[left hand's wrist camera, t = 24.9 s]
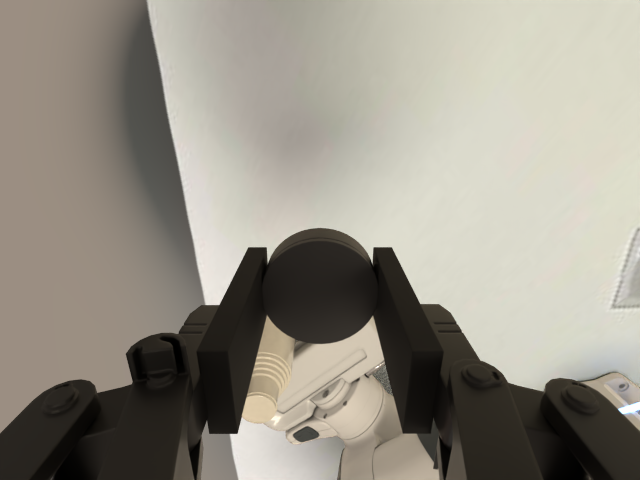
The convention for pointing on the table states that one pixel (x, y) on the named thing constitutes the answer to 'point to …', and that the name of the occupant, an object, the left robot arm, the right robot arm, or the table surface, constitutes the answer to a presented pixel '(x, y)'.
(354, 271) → the cap
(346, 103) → the table surface
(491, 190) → the table surface
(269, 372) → the bottle
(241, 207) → the table surface
